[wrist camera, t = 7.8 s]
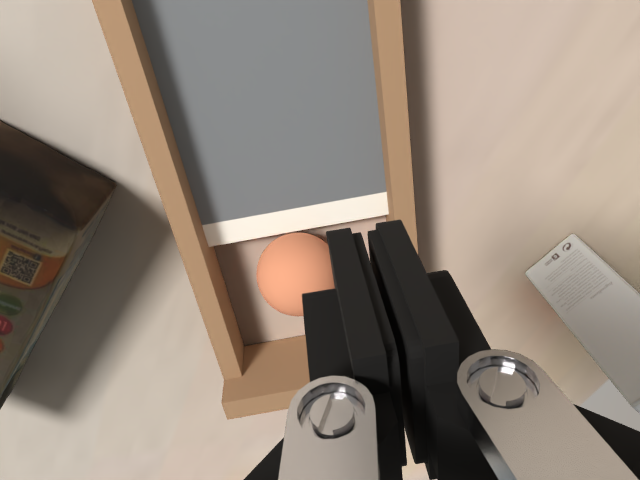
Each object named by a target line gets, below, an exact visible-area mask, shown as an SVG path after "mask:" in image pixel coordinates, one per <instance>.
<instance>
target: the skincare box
mask: <svg viewBox="0 0 640 480" xmlns="http://www.w3.org/2000/svg"><path fill="white" fill-rule="evenodd" d="M525 274H526V276H527V277H528V279H529V280H530V281H531V282H532V284H533V285H534V286H535V287H536V288H537V290H538V291H539V292H540V293H541V295H542V296H543V297H544V298H545V300H546V301H547V302H548V303H549V304H550V306H551V307H552V308H553V310H554V311H555V312H556V313H557V315H558V316H559V317H560V318H561V320H562V321H563V322H564V323H565V325H566V326H567V327H568V328H569V330H570V331H571V332H572V333H573V334H574V336H575V337H576V338H577V339H578V341H579V342H580V343H581V344H582V346H583V347H584V348H585V349H586V350H587V352H588V353H589V354H590V356H591V357H592V358H593V359H594V360H595V362H596V363H597V364H598V365H599V367H600V368H601V369H602V370H603V372H604V373H605V374H606V375H607V377H608V378H609V379H610V380H611V382H612V383H613V384H614V385H615V387H616V388H617V389H618V390H619V392H620V393H621V394H622V395H623V396H624V398H625V399H626V400H627V401H628V402H629V404H630V405H631V406H632V407H633V408H634V409H635V410H636V411H637V412H638V413H640V293H639V292H637V291H636V290H635V289H634V288H633V287H632V286H631V285H630V284H629V283H627V282H626V281H625V280H624V279H623V278H622V277H621V276H620V275H619V274H618V273H617V272H616V271H614V270H613V269H612V268H611V267H610V266H609V265H608V264H607V263H606V262H605V261H604V260H602V259H601V258H600V257H599V256H598V255H597V254H596V253H595V252H594V251H593V250H592V249H591V248H589V247H588V246H587V245H586V244H585V243H584V242H583V241H582V240H581V239H580V238H578V237H577V236H576V235H575V234H571V235H569V236H568V237H567V238H566V239H564V240H563V241H562V242H561V243H560V244H558V245H557V246H556V247H555V248H554V249H553V250H551V251H550V252H549V253H548V254H547V255H545V256H544V257H543V258H542V259H541V260H539V261H538V262H537V263H536V264H534V265H533V266H532V267H531V268H530V269H528V270H527V271H526V273H525Z"/></svg>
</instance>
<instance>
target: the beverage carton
mask: <svg viewBox="0 0 640 480" xmlns="http://www.w3.org/2000/svg"><path fill="white" fill-rule="evenodd" d="M116 186H117V185H116V183H115V182H113V181H111V180H110V179H108V178H106V177H104V176H102V175H100V174H98V173H97V172H95V171H93V170H91V169H88V168H86V167H84V166H82V165H80V164H78V163H76V162H75V161H73V160H71V159H69V158H67V157H65V156H64V155H62V154H60V153H58V152H56V151H54V150H52V149H51V148H50V147H48V146H47V145H45V144H43V143H41V142H39V141H37V140H35V139H33V138H31V137H29V136H27V135H25V134H24V133H22V132H20V131H18V130H16V129H14V128H12V127H10V126H8V125H6V124H5V123H3V122H1V121H0V409H1V407H2V406H3V404H4V402H5V400H6V398H7V397H8V396H9V394H10V393H11V391H12V389H13V387H14V385H15V383H16V381H17V379H18V377H19V376H20V373H21V371H22V369H23V367H24V364H25V362H26V360H27V359H28V357H29V355H30V353H31V351H32V349H33V347H34V345H35V343H36V342H37V340H38V338H39V336H40V334H41V332H42V330H43V329H44V327H45V325H46V323H47V322H48V320H49V318H50V316H51V314H52V312H53V310H54V309H55V307H56V305H57V303H58V301H59V300H60V298H61V296H62V294H63V292H64V290H65V289H66V287H67V285H68V283H69V281H70V279H71V277H72V275H73V273H74V271H75V270H76V268H77V266H78V264H79V262H80V260H81V258H82V256H83V254H84V252H85V250H86V248H87V246H88V244H89V242H90V241H91V239H92V237H93V235H94V233H95V231H96V229H97V227H98V224H99V222H100V220H101V218H102V216H103V213H104V212H105V210H106V208H107V206H108V203H109V200H110V198H111V196H112V193H113V191H114V189H115V187H116Z"/></svg>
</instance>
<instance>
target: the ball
mask: <svg viewBox="0 0 640 480" xmlns="http://www.w3.org/2000/svg"><path fill="white" fill-rule="evenodd" d="M257 283H258V287H259V290H260V292H261V294H262V296H263V297H264V299H265V300H266V301H267V303H268V304H269V305H270V306H272V307H273V308H274V309H276V310H277V311H279V312H281V313H284V314H287V315H291V316H304V315H303V304H302V294H303V293H309V292H316V291H322V290H328V289H334V288H335V286H334V280H333V273H332V267H331V260H330V254H329V247H328V244H327V243H326V242H324V241H323V240H321V239H320V238H318V237H316V236H314V235H311V234H307V233H290V234H286V235H283V236H281V237H279V238H277V239H275V240H274V241H273V242H271V243H270V244H269V245H268V246H267V247H266V249H265V250H264V251H263V253H262V255H261V257H260V259H259V262H258V266H257Z"/></svg>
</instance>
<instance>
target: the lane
mask: <svg viewBox="0 0 640 480" xmlns="http://www.w3.org/2000/svg"><path fill="white" fill-rule="evenodd" d="M92 2H93V5H94V8H95V11H96V13H97V16H98V19H99V22H100V25H101V28H102V31H103V34H104V36H105V39H106V42H107V45H108V48H109V51H110V54H111V56H112V59H113V62H114V65H115V68H116V71H117V74H118V77H119V79H120V82H121V85H122V88H123V91H124V94H125V97H126V100H127V102H128V105H129V108H130V111H131V114H132V117H133V120H134V123H135V125H136V128H137V131H138V134H139V137H140V140H141V143H142V145H143V148H144V151H145V154H146V157H147V160H148V163H149V166H150V168H151V171H152V174H153V177H154V180H155V183H156V186H157V189H158V191H159V194H160V197H161V200H162V203H163V206H164V209H165V211H166V214H167V217H168V220H169V223H170V226H171V229H172V232H173V234H174V237H175V240H176V243H177V246H178V249H179V252H180V255H181V257H182V260H183V263H184V266H185V269H186V272H187V275H188V277H189V280H190V283H191V286H192V289H193V292H194V295H195V298H196V300H197V303H198V306H199V309H200V312H201V315H202V318H203V321H204V323H205V326H206V329H207V332H208V335H209V338H210V341H211V344H212V346H213V349H214V352H215V355H216V358H217V361H218V364H219V366H220V369H221V372H222V375H223V378H224V386H223V395H222V406H223V408H224V411H225V414H226V417H227V419H234V418H239V417H245V416H250V415H256V414H261V413H267V412H272V411H278V410H283V409H289V406H290V403H291V400H292V399H293V397H294V396H295V394H296V393H297V392H298V390H300V389H301V388H302V387H304V386H305V385H306V384H308V383H309V382H310V379H309V368H308V358H307V347H306V336H305V335H303V336H298V337H292V338H286V339H281V340H275V341H270V342H264V343H259V344H253V345H248V346H244V344H243V341H242V337H241V334H240V331H239V328H238V324H237V321H236V318H235V315H234V311H233V308H232V305H231V302H230V298H229V295H228V292H227V289H226V285H225V282H224V279H223V276H222V272H221V269H220V266H219V263H218V259H217V256H216V253H215V249H214V246H217V245H223V244H228V243H234V242H239V241H245V240H250V239H256V238H261V237H267V236H272V235H278V234H283V233H289V232H294V231H300V230H305V229H311V228H316V227H322V226H327V225H333V224H338V223H344V222H349V221H355V220H360V219H366V218H371V217H377V216H382V215H386V222H388V221H394V220H401V221H402V223H403V225H404V227H405V229H406V231H407V233H408V235H409V237H410V239H411V241H412V244H413V246H414V248H415V250H416V252H417V254H418V245H417V231H416V217H415V203H414V189H413V174H412V160H411V146H410V132H409V118H408V103H407V89H406V75H405V61H404V47H403V33H402V18H401V4H400V0H92Z"/></svg>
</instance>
